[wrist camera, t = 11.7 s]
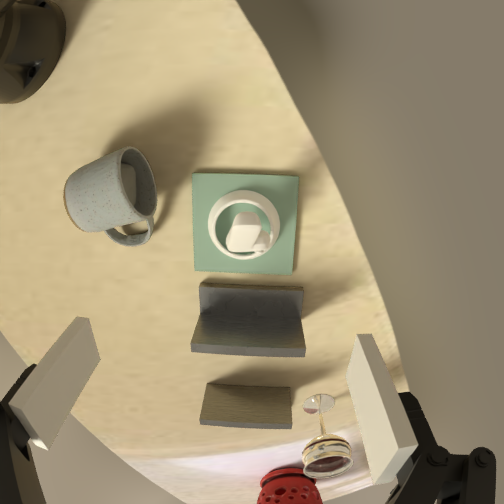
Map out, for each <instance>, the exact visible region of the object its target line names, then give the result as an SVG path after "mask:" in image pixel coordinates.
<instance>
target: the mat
mask: <svg viewBox="0 0 504 504" xmlns="http://www.w3.org/2000/svg"><path fill="white" fill-rule="evenodd" d="M298 186H299V176H288V175H268V174H238V173H192V204H193V241H194V267H195V271H208V272H229V273H252V274H277V275H292V267H293V256H294V243H295V230H296V217H297V202H298ZM238 190H249V191H254V192H257V193H259V194H261V195H263V196H264V197H266V198H267V199H268V200H269V201H270V202H271V203H272V204H273V205H274V207H275V208H276V210H277V213H278V215H279V220H280V231H279V235H278V238H277V240H276V242H275V244H274V245H273V246H272V247H271V249H269V250H268V251H267V252H266V253H264V254H263V255H261V256H259V257H256V258H254V259H247V260H241V259H235V258H232V257H230V256H227V255H226V254H224V253H222V252H221V251H220V250H219V249H218V248H217V247H216V246H215V244H214V243H213V241H212V239H211V237H210V235H209V230H208V218H209V214H210V211H211V209H212V207H213V206H214V204H215V203H216V202H217V201H218V200H219V199H220V198H221V197H222V196H224V195H226V194H228V193H230V192H233V191H238ZM246 211H249V212H254V213H256V214H257V215H258V217H259V219H260V221H261V225H262V229H261V230H265V231H267V232H268V233H269V236H270V231H271V227H270V222H269V220H268V217H267V216H266V214H265V213H264V212H263V211H262V210H261V209H260V208H258V207H257V206H255V205H253V204H249V203H235V204H232V205H230V206H228V207H227V208H225V209H224V210H223V211H222V212H221V213H220V215H219V216H218V218H217V221H216V226H215V232H216V236H217V238H218V241H219V242H220V243H221V245H222V246H223V247H224V248H226V249H227V250H228V248H227V245H226V237H227V235H228V233H229V231H230V228H231V227H232V225H233V221H234V219H235V217H236V215H237V214H238V213H240V212H246ZM230 252H231V251H230ZM233 253H235V254H240V255H247V254H252V253H255V252H254V251H251V252H233Z"/></svg>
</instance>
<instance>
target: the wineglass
mask: <svg viewBox="0 0 504 504" xmlns="http://www.w3.org/2000/svg"><path fill="white" fill-rule="evenodd" d="M334 402H335V401H334V399H333V398H332V397H331V396H329V395H325V394H320V395H315V396H312V397H310V398H308V399H307V400H306V401H305V402H304V404H303V409H304V410H305V411H306V412H307V413H310V414H319V420H320V431H321V435H320V436H318V437H316V438H314V439H313V440H311V441H310V442H309V443H308V444H307V445H306V446H305V448H304V450H303V452H302V462H303V464H304V466H305V467H304V469H303V472H304V474H305V475H307V476H309V477H312V478H330V477H334V476H337V475H340V474H342V473H344V472H346V471H347V470H349V469H350V468H351V467H352V466H353V460H352V459H351V458H350V457H351V451H352V450H351V447H350V445H349V443H348V442H347V441H346V440H345V439H344V438H342V437H339V436H337V435H333V434H326V430H325V426H324V421H323V417H322V413H325V412H327V411H329V410H330V409H331V408H333V406H334Z"/></svg>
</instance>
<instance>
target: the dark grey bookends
mask: <svg viewBox="0 0 504 504" xmlns="http://www.w3.org/2000/svg"><path fill="white" fill-rule="evenodd" d="M303 294H304V290H303V287H282V286H256V285H233V284H213V283H200V285H199V297H200V316H199V319H198V322H197V325H196V328H195V331H194V334H193V337H192V340H191V352H199V353H211V354H226V355H243V356H267V357H305V351H306V346H305V340H304V334H303V328H302V322H301V311H302V302H303ZM200 424H201V425H212V426H223V427H238V428H259V429H291V428H292V411H291V398H290V387H255V386H235V385H220V384H208V383H207V386H206V390H205V395H204V400H203V405H202V410H201V414H200Z"/></svg>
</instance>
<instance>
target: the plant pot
mask: <svg viewBox="0 0 504 504" xmlns="http://www.w3.org/2000/svg"><path fill="white" fill-rule="evenodd" d="M315 484H316V478H312V477H309V476H307V475H305V474H304V472H303V469H297V468H286V469H279V470H276V471H273V472H270V473H269V474H267V475H265V476H264V477H263V478H262V480H261V482H260V486H261V488H262V490H261V492H260V494H259V497H258V500H257V504H323V503H322V499H321V497H320V493H319V491H318V489H317V488H316V486H315Z"/></svg>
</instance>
